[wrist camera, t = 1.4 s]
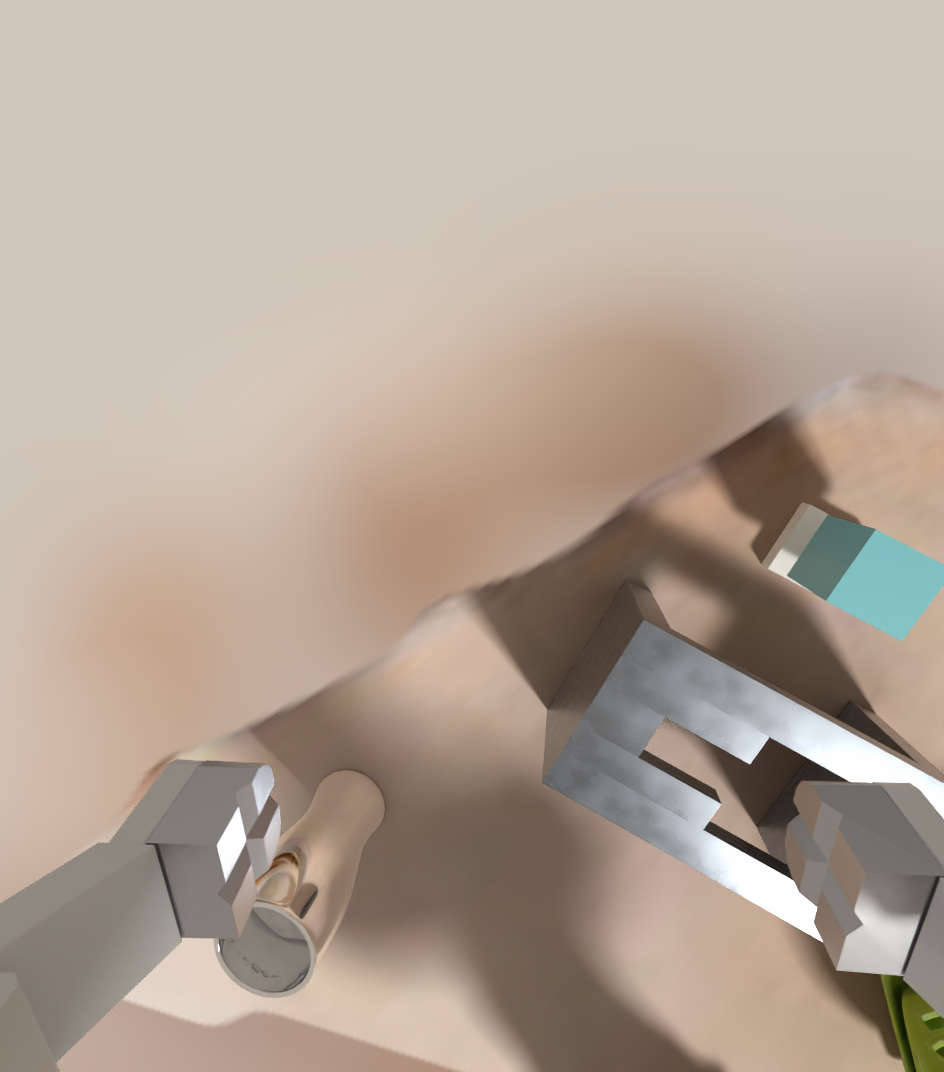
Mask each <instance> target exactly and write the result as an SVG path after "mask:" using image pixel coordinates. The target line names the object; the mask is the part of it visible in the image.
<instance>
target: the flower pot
mask: <svg viewBox="0 0 944 1072" xmlns="http://www.w3.org/2000/svg"><path fill="white" fill-rule="evenodd" d="M880 977H881V981H882V985H883V989H884V993H885V997H886V1001H887V1005H888V1009H889V1013H890V1017H891V1021H892V1024H893V1028H894V1032H895V1036H896V1040H897V1043H898V1047H899V1050H900V1054H901V1058H902V1061H903V1065H904V1068H905V1071H906V1072H944V1018H943V1017H942V1016H941V1015H939V1014H938V1013H937V1012H936V1011H935V1010H934V1009H933V1008H932V1007H931V1006H930V1005H929V1004H928V1003H927V1002H926V1001H925V1000H924V999H923V998H922V997H921V996H920V995H919V994H918V993H917V992H916V991H915V990H914V989H912V988H911V987H910V986H909V985H908V984H907V983H906V982H905V981H904V980H903V978H904V976H899V975H887V974H880Z"/></svg>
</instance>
